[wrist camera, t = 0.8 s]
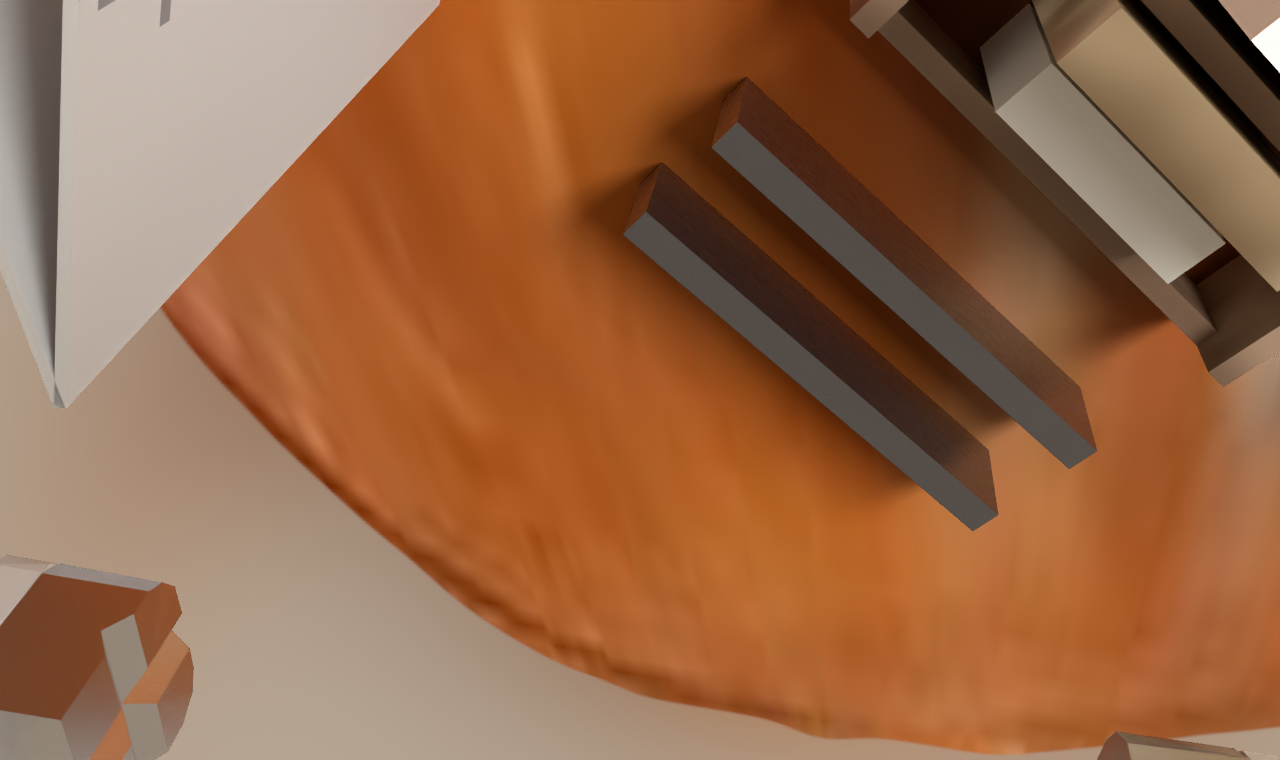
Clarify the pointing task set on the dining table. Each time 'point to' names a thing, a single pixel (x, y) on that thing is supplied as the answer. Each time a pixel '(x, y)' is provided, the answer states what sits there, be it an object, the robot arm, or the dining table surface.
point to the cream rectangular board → (1259, 24)
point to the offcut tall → (1174, 117)
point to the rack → (1207, 312)
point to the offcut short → (1092, 150)
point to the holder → (821, 342)
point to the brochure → (155, 146)
